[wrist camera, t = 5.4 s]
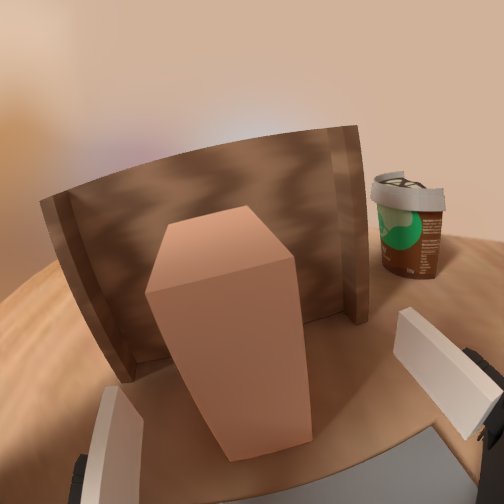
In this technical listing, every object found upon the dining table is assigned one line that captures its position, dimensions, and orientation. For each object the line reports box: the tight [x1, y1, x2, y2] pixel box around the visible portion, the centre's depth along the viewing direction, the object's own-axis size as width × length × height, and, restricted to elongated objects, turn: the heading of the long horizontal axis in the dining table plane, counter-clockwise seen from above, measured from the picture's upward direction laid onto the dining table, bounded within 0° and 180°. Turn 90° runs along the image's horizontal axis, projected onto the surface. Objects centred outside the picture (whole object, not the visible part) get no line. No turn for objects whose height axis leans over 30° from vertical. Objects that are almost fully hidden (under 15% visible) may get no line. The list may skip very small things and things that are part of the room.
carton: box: [145, 205, 313, 462], centre depth 15 cm, size 5×9×12 cm, turn 11°
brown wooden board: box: [40, 125, 369, 383], centre depth 20 cm, size 22×4×16 cm, turn 101°
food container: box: [370, 171, 446, 279], centre depth 29 cm, size 12×6×10 cm, turn 172°
